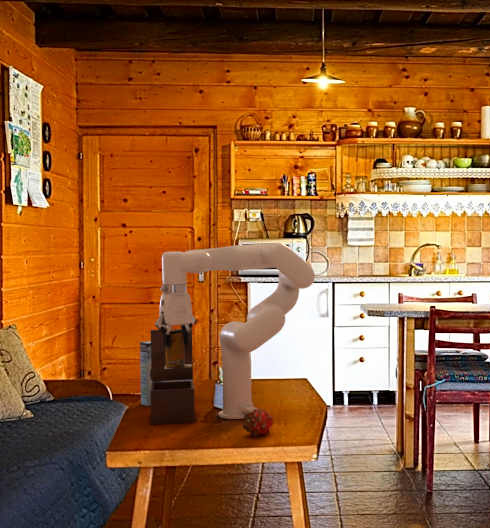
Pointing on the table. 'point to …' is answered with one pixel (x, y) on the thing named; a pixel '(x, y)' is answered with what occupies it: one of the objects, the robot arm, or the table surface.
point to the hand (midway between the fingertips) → (176, 344)
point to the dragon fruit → (258, 422)
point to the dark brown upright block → (160, 359)
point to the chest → (172, 402)
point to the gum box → (147, 373)
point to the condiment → (176, 351)
